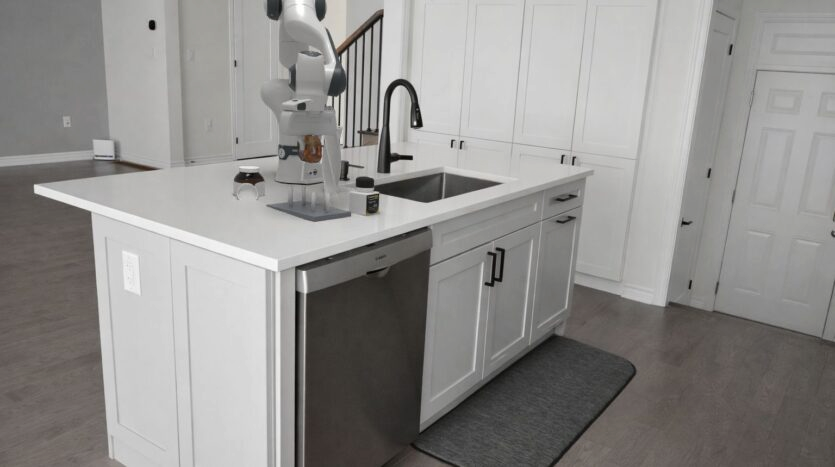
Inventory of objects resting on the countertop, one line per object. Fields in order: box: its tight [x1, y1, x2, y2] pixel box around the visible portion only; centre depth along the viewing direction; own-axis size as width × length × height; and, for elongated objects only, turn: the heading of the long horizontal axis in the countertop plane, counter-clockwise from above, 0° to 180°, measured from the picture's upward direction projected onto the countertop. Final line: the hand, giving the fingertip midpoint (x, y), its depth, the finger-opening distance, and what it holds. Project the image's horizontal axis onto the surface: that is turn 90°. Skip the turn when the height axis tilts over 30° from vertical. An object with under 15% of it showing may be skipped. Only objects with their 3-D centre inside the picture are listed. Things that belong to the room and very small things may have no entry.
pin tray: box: [265, 185, 352, 223], centre depth 201 cm, size 15×24×8 cm, turn 49°
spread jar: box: [232, 165, 266, 201], centre depth 214 cm, size 12×11×12 cm
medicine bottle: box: [348, 175, 380, 217], centre depth 205 cm, size 7×7×12 cm
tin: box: [297, 135, 323, 163], centre depth 197 cm, size 15×3×8 cm, turn 32°
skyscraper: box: [321, 125, 343, 195], centre depth 230 cm, size 8×8×28 cm
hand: (309, 149), depth 197 cm, fingers closed on tin, 3 cm apart
